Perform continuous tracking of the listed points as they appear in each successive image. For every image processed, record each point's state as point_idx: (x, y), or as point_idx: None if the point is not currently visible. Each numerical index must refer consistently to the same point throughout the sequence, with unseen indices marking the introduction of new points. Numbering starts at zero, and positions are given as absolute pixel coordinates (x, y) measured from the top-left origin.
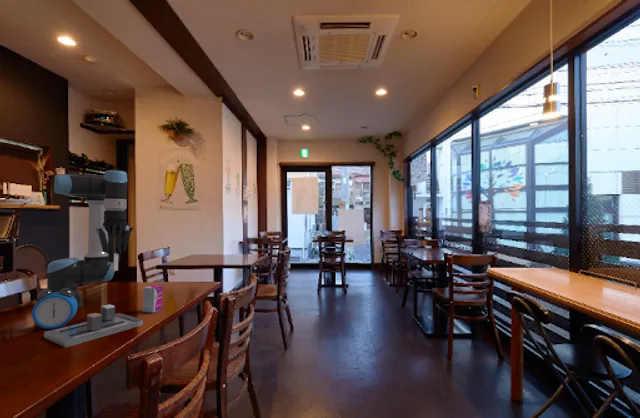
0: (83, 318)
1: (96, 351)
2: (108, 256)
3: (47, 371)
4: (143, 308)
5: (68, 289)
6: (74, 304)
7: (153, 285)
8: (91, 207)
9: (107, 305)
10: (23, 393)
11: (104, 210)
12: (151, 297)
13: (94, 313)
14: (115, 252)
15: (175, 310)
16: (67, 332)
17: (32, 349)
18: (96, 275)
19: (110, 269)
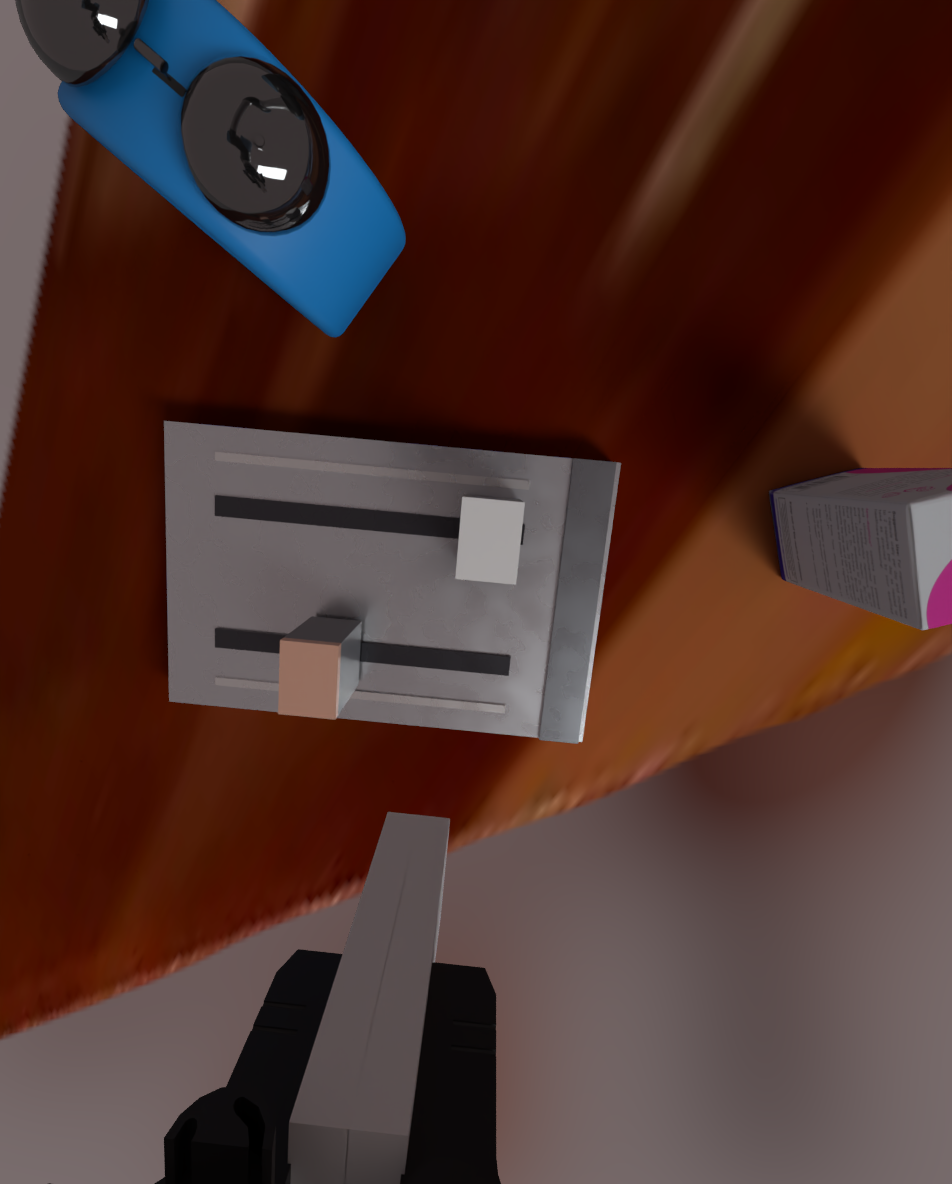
0: (498, 207)
1: (242, 857)
2: (234, 1073)
3: (52, 876)
4: (785, 499)
5: (240, 170)
6: (338, 288)
7: None
8: None
9: (495, 520)
10: None
11: None
12: (853, 582)
13: (323, 654)
14: (413, 1179)
15: (900, 653)
16: (235, 559)
17: (89, 568)
18: None
19: (385, 820)
